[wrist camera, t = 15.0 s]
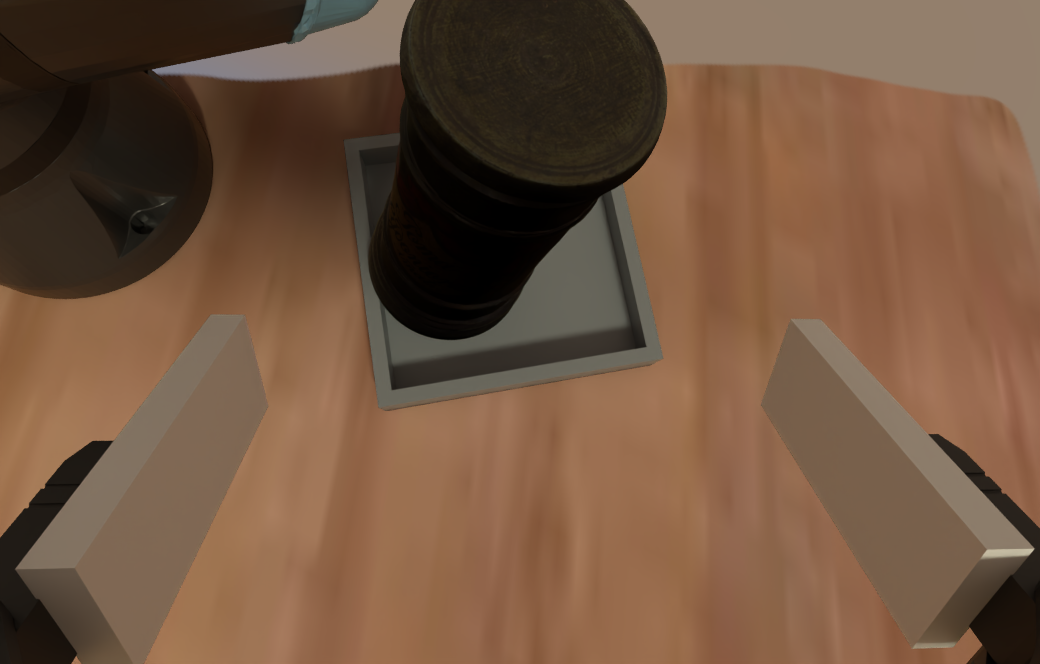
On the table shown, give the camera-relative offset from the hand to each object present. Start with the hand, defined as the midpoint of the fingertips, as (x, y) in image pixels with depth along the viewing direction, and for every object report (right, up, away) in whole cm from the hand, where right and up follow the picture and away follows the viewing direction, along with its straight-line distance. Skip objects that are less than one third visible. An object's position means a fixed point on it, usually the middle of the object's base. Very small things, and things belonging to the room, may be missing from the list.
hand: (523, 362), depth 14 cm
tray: (-1, +5, +21) cm, 22 cm away
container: (-5, +5, +20) cm, 21 cm away
